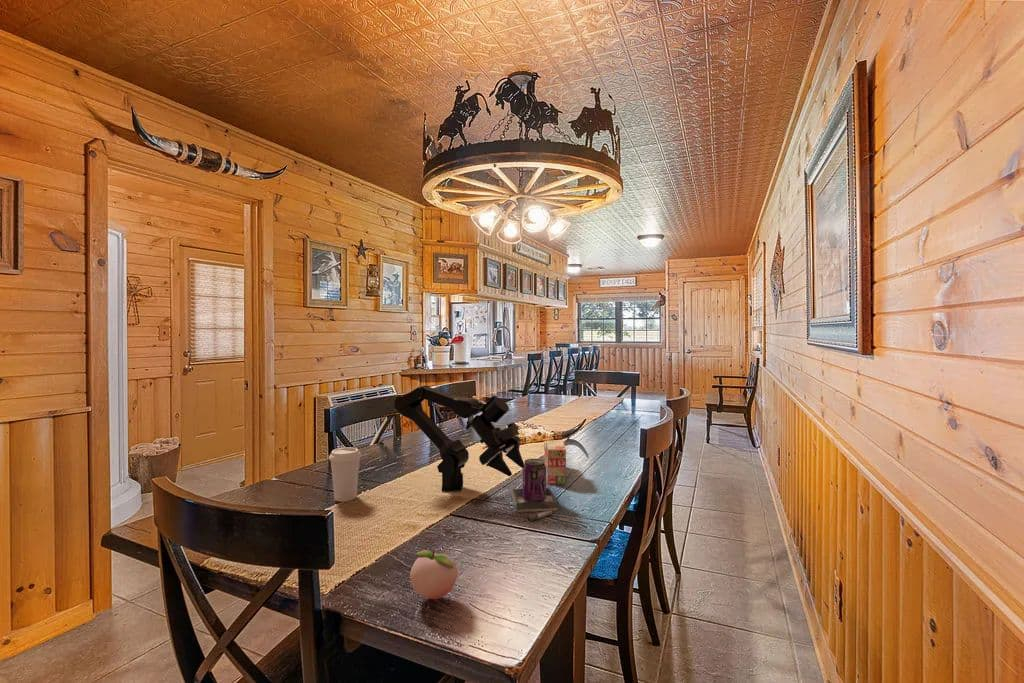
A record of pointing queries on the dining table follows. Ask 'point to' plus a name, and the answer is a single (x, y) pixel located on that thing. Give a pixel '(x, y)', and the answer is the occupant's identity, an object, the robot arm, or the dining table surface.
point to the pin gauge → (538, 515)
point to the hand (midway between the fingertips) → (517, 471)
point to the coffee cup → (345, 473)
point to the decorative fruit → (433, 574)
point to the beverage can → (534, 480)
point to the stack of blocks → (555, 462)
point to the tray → (524, 505)
